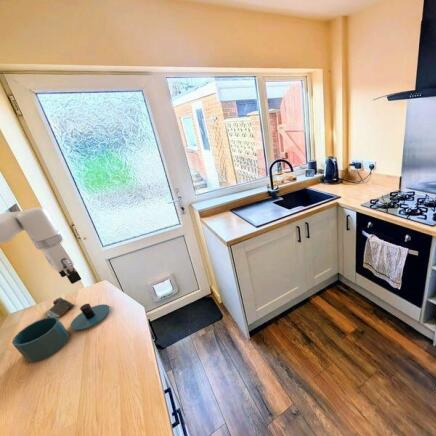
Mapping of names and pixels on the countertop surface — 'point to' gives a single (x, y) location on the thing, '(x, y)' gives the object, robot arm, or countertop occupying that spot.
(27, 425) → the countertop surface
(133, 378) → the countertop surface
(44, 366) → the countertop surface
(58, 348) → the tin
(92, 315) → the lid
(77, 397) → the countertop surface
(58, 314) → the chocolate cake
